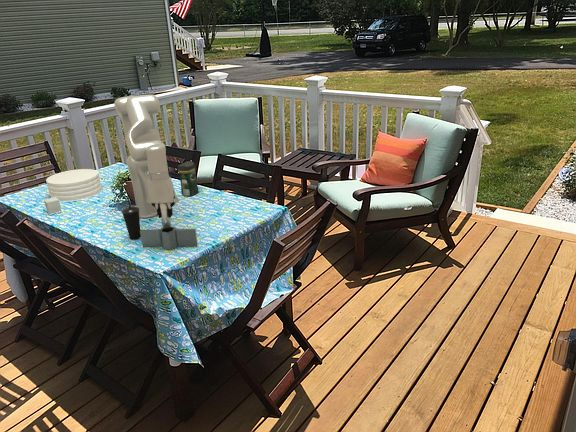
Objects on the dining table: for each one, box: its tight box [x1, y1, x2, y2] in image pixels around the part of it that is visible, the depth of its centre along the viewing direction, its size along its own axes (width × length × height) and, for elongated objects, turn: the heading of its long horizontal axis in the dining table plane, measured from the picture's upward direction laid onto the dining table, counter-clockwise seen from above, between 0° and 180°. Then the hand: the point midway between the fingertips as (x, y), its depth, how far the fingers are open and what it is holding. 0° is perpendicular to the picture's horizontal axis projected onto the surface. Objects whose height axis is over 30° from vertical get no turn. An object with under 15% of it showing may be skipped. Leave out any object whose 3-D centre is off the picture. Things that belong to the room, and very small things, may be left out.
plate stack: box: [45, 168, 103, 201], centre depth 275 cm, size 28×28×12 cm
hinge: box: [140, 225, 199, 251], centre depth 203 cm, size 24×7×8 cm, turn 87°
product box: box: [43, 197, 62, 215], centre depth 249 cm, size 6×6×7 cm
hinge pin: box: [159, 203, 172, 228], centre depth 198 cm, size 5×5×15 cm
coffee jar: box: [177, 160, 199, 197], centre depth 265 cm, size 10×8×19 cm
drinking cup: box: [121, 195, 141, 241], centre depth 212 cm, size 8×8×20 cm
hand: (165, 216), depth 200 cm, fingers closed on hinge pin, 3 cm apart
